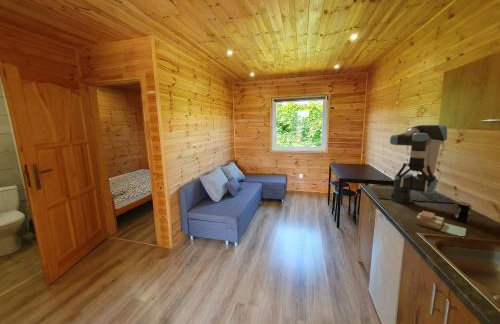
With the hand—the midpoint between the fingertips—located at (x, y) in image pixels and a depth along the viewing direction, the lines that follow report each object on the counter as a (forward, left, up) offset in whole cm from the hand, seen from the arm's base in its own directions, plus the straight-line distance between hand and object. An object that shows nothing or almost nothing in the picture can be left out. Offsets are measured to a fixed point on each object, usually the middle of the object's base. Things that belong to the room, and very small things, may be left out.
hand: (413, 188), depth 137 cm
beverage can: (-20, +24, -21) cm, 38 cm away
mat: (0, +22, -21) cm, 31 cm away
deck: (0, +10, -21) cm, 24 cm away
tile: (0, +9, -17) cm, 19 cm away
